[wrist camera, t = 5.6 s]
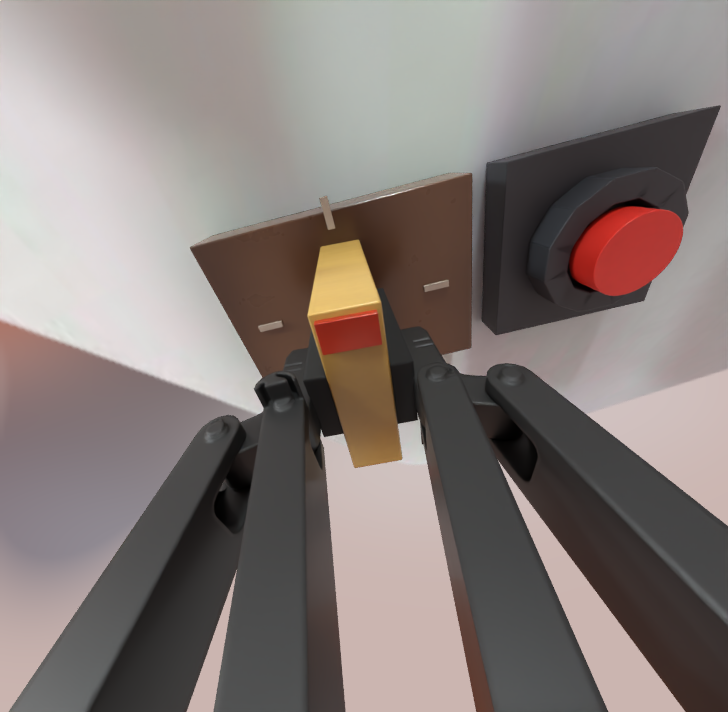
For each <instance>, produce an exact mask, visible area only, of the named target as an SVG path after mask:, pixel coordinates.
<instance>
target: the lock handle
mask: <svg viewBox="0 0 728 712" xmlns="http://www.w3.org/2000/svg"><path fill="white" fill-rule="evenodd" d="M307 317H308V320H309V323H310V326H311V329H312V333H313V336H314V339H315V342H316V346H317V349H318V352H319V355H320V358H321V362H322V365H323V368H324V371H325V375H326V378H327V381H328V384H329V387H330V391H331V394H332V397H333V400H334V404H335V407H336V410H337V413H338V417H339V420H340V423H341V426H342V429H343V433H344V436H345V439H346V442H347V446H348V449H349V452H350V455H351V458H352V462H353V465H354V467H355V468H358V467H364V466H370V465H375V464H380V463H386V462H392V461H398V460H402V452H401V444H400V437H399V429H398V422H397V415H396V407H395V400H394V392H393V385H392V377H391V370H390V362H389V355H388V348H387V340H386V333H385V325H384V318H383V310H382V303H381V300H380V297H379V294H378V291H377V289H376V286H375V283H374V280H373V277H372V275H371V272H370V269H369V266H368V263H367V261H366V258H365V255H364V252H363V249H362V247H361V244H360V241H359V240H353V241H348V242H343V243H337V244H332V245H327V246H322V247H320V253H319V258H318V263H317V268H316V273H315V279H314V284H313V289H312V294H311V299H310V304H309V310H308V315H307Z"/></svg>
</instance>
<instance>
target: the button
mask: <svg viewBox="0 0 728 712" xmlns="http://www.w3.org/2000/svg"><path fill="white" fill-rule="evenodd" d="M682 236H683V225H682V221H681V219H680V218H679V216H678V215H677V214H675V213H674V212H672V211H669V210H662V209H654V208H645V207H636V206H622V207H618V208H615V209H612V210H610V211H608V212H606V213H604V214H602V215H601V216H599V217H598V218H597V219H595V220H594V221H593V222H592V223H591V224H590V225H589V226H588V227H587V228H586V229H585V230H584V231H583V233H582V234H581V236H580V237H579V239H578V240H577V242H576V243H575V245H574V247H573V249H572V252H571V255H570V259H569V269H570V273H571V275H572V277H573V278H574V279H575V280H576V281H577V282H578V283H581V284H583V285H585V286H587V287H590V288H592V289H594V290H596V291H598V292H601V293H603V294H605V295H609V296H619V295H624V294H628V293H631V292H633V291H635V290H638V289H640V288H641V287H643V286H645V285H646V284H648V283H649V282H651V281H652V280H653V279H654V278H656V277H657V276H658V275H659V274H660V273H661V272H662V271H663V270H664V269H665V268H666V266H667V265H668V264H669V263H670V261H671V260H672V259H673V257H674V255H675V254H676V252H677V250H678V248H679V246H680V243H681V240H682Z"/></svg>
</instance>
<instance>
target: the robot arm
mask: <svg viewBox="0 0 728 712" xmlns="http://www.w3.org/2000/svg"><path fill="white" fill-rule="evenodd" d="M377 291H378V294H379V297H380V300H381V303H382V310H383V318H384V325H385V333H386V340H387V348H388V355H389V362H390V370H391V377H392V385H393V392H394V400H395V407H396V415H397V422H398V424H399V423H404V422H410V421H415V420H418V417H417V413H418V416H419V419H420V425H421V440H422V444H424V449H425V454H426V459H427V464H428V469H429V474H430V479H431V484H432V490H433V495H434V500H435V505H436V510H437V515H438V520H439V525H440V530H441V535H442V540H443V545H444V550H445V555H446V560H447V565H448V570H449V576H450V581H451V586H452V591H453V596H454V601H455V606H456V611H457V616H458V621H459V626H460V631H461V636H462V641H463V646H464V651H465V657H466V662H467V667H468V672H469V677H470V682H471V687H472V692H473V697H474V702H475V707H476V712H608V710H607V708H606V706H605V703H604V701H603V699H602V697H601V695H600V692H599V690H598V687H597V685H596V683H595V681H594V678H593V676H592V674H591V671H590V669H589V667H588V665H587V662H586V660H585V658H584V655H583V653H582V651H581V649H580V647H579V644H578V642H577V640H576V637H575V635H574V633H573V630H572V628H571V626H570V624H569V621H568V619H567V617H566V614H565V612H564V610H563V608H562V605H561V603H560V601H559V599H558V596H557V594H556V592H555V590H554V587H553V585H552V583H551V580H550V578H549V576H548V574H547V571H546V569H545V567H544V564H543V562H542V560H541V558H540V556H539V553H538V551H537V549H536V547H535V544H534V542H533V539H532V537H531V535H530V533H529V530H528V528H527V526H526V523H525V521H524V519H523V517H522V514H521V512H520V510H519V508H518V505H517V503H516V501H515V498H514V496H513V494H512V492H511V490H510V487H509V485H508V482H507V480H506V478H505V476H504V474H503V471H502V469H501V467H500V464H499V462H500V463H501V464H502V466H503V467H504V469H505V470H506V471H507V473H508V474H509V475H510V477H511V478H512V479H513V481H514V482H515V483H516V485H517V486H518V487H519V489H520V490H521V491H522V493H523V494H524V495H525V497H526V498H527V500H528V501H529V502H530V504H531V505H532V506H533V507H534V509H535V510H536V512H537V513H538V514H539V516H540V517H541V518H542V520H543V521H544V522H545V524H546V525H547V526H548V528H549V529H550V530H551V532H552V533H553V534H554V536H555V537H556V538H557V540H558V541H559V543H560V544H561V545H562V547H563V548H564V549H565V551H566V552H567V553H568V555H569V556H570V557H571V559H572V560H573V561H574V563H575V564H576V565H577V567H578V568H579V569H580V571H581V572H582V573H583V575H584V576H585V577H586V579H587V580H588V581H589V583H590V584H591V585H592V587H593V588H594V589H595V591H596V592H597V594H598V595H599V596H600V598H601V599H602V600H603V601H604V603H605V604H606V605H607V607H608V608H609V610H610V611H611V612H612V614H613V615H614V616H615V618H616V619H617V620H618V622H619V623H620V624H621V625H622V627H623V628H624V630H625V631H626V632H627V634H628V635H629V636H630V638H631V639H632V640H633V642H634V643H635V644H636V646H637V647H638V648H639V650H640V651H641V653H642V654H643V655H644V656H645V658H646V659H647V661H648V662H649V663H650V665H651V666H652V667H653V669H654V670H655V671H656V673H657V674H658V675H659V677H660V678H661V679H662V681H663V682H664V683H665V685H666V686H667V687H668V689H669V690H670V691H671V693H672V694H673V695H674V697H675V698H676V700H677V701H678V702H679V703H680V705H681V706H682V707H683V709H684V710H685V711H686V712H728V526H727V525H726V524H724V523H723V522H722V521H721V520H719V519H718V518H717V517H715V516H714V515H713V514H712V513H710V512H709V511H708V510H707V509H705V508H704V507H703V506H701V505H700V504H699V503H698V502H697V501H695V500H694V499H693V498H691V497H690V496H689V495H688V494H686V493H685V492H684V491H683V490H681V489H680V488H679V487H677V486H676V485H675V484H674V483H672V482H671V481H670V480H668V479H667V478H666V477H665V476H664V475H662V474H661V473H660V472H658V471H657V470H656V469H655V468H653V467H652V466H651V465H649V464H648V463H647V462H646V461H644V460H643V459H642V458H641V457H639V456H638V455H637V454H636V453H634V452H633V451H631V450H630V449H629V448H628V447H627V446H625V445H624V444H623V443H622V442H620V441H619V440H618V439H617V438H615V437H614V436H613V435H611V434H610V433H609V432H607V431H606V430H605V429H604V428H603V427H601V426H600V425H599V424H598V423H596V422H595V421H594V420H592V419H591V418H590V417H589V416H587V415H586V414H585V413H584V412H582V411H581V410H580V409H578V408H577V407H576V406H575V405H573V404H572V403H571V402H570V401H568V400H567V399H566V398H564V397H563V396H562V395H561V394H559V393H558V392H557V391H556V390H554V389H553V388H552V387H551V386H549V385H548V384H547V383H545V382H544V381H543V380H542V379H540V378H539V377H538V376H537V375H535V374H534V373H533V372H531V371H530V370H528V369H526V368H525V367H523V366H519V365H516V364H506V363H505V364H498V365H495V366H493V367H491V368H490V369H489V370H488V372H487V376H472V375H464V374H460V373H459V371H458V370H457V369H456V368H455V367H454V366H452V365H450V364H447V363H446V362H445V361H444V359H443V357H442V355H441V354H440V352H439V350H438V349H437V347H436V345H435V344H434V342H433V340H432V339H431V337H430V335H429V333H428V331H427V330H425V329H423V328H422V327H420V326H417V327H411V328H406V329H401V330H400V328H399V325H398V323H397V320H396V318H395V316H394V313H393V311H392V308H391V306H390V303H389V301H388V299H387V296H386V294H385V291H384V289H383V288H379V289H377ZM254 390H255V392H256V394H257V396H258V398H259V400H260V402H261V404H262V405H263V407H264V410H263V412H262V413H260V414H258V415H257V416H254V417H252V418H250V419H247V420H245V421H242V422H240V421H239V420H238V418H236V417H235V416H231V415H226V416H221V417H218V418H216V419H214V420H212V421H210V422H209V423H207V424H206V425H205V426H203V427H202V428H201V430H200V431H199V432H198V433H197V435H196V436H195V437H194V439H193V441H192V442H191V443H190V445H189V446H188V448H187V449H186V451H185V452H184V454H183V455H182V457H181V458H180V460H179V461H178V463H177V464H176V466H175V467H174V469H173V470H172V471H171V473H170V474H169V476H168V478H167V479H166V480H165V482H164V483H163V485H162V486H161V488H160V489H159V491H158V492H157V494H156V495H155V497H154V498H153V500H152V501H151V502H150V504H149V505H148V507H147V508H146V510H145V511H144V513H143V514H142V516H141V517H140V519H139V520H138V522H137V523H136V525H135V526H134V528H133V529H132V530H131V532H130V534H129V535H128V537H127V538H126V539H125V541H124V542H123V544H122V545H121V547H120V548H119V550H118V551H117V553H116V554H115V556H114V557H113V559H112V560H111V561H110V563H109V564H108V566H107V568H106V569H105V570H104V572H103V573H102V575H101V576H100V578H99V579H98V581H97V582H96V584H95V585H94V587H93V588H92V590H91V591H90V593H89V594H88V596H87V597H86V598H85V600H84V601H83V603H82V604H81V606H80V607H79V609H78V610H77V612H76V613H75V615H74V616H73V618H72V619H71V620H70V622H69V623H68V625H67V626H66V628H65V629H64V631H63V633H62V634H61V635H60V637H59V638H58V640H57V641H56V643H55V644H54V646H53V647H52V649H51V650H50V652H49V653H48V655H47V656H46V658H45V659H44V660H43V662H42V663H41V665H40V666H39V668H38V669H37V671H36V672H35V674H34V675H33V677H32V678H31V680H30V681H29V682H28V684H27V685H26V687H25V688H24V690H23V692H22V693H21V695H20V696H19V697H18V699H17V700H16V702H15V703H14V705H13V706H12V708H11V709H10V711H9V712H186V711H187V709H188V706H189V703H190V700H191V697H192V694H193V692H194V688H195V686H196V683H197V680H198V677H199V675H200V671H201V669H202V666H203V663H204V660H205V657H206V655H207V652H208V649H209V646H210V643H211V641H212V638H213V635H214V632H215V629H216V626H217V624H218V621H219V618H220V615H221V612H222V609H223V606H224V603H225V601H226V598H227V595H228V592H229V590H230V587H231V584H232V581H233V578H234V575H235V573H236V570H237V573H236V579H235V586H234V592H233V597H232V604H231V609H230V616H229V622H228V628H227V634H226V640H225V646H224V652H223V659H222V665H221V670H220V676H219V682H218V688H217V694H216V700H215V706H214V712H345V701H344V689H343V677H342V665H341V652H340V639H339V628H338V616H337V603H336V592H335V579H334V566H333V554H332V542H331V530H330V518H329V506H328V493H327V482H326V470H325V457H324V447H323V444H322V442H321V439H320V434H321V430H322V433H323V435H324V437H327V436H332V435H338V434H343V429H342V426H341V423H340V420H339V417H338V413H337V410H336V407H335V404H334V400H333V397H332V394H331V391H330V387H329V384H328V381H327V378H326V375H325V371H324V368H323V365H322V362H321V358H320V355H319V352H318V349H317V346H316V342H315V339H314V336H313V333H312V329H311V333H310V339H309V346H308V348H303V349H298V350H293V351H292V352H291V353H290V354H289V355H288V356H287V358H286V361H285V364H284V368H283V371H277V372H274V373H271V374H269V375H267V376H265V377H264V378H262V379H261V380H260V381H259V382H258V383H257V384H256V386H255V388H254ZM497 459H498V460H497ZM498 461H499V462H498ZM222 484H223V485H222Z"/></svg>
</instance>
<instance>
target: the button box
mask: <svg viewBox="0 0 728 712" xmlns="http://www.w3.org/2000/svg"><path fill="white" fill-rule="evenodd" d="M720 107H721V106H713V107H708V108H702V109H696V110H690V111H685V112H679V113H673V114H670V115H666V116H662V117H658V118H654V119H651V120H647V121H643V122H639V123H636V124H632V125H628V126H624V127H620V128H617V129H613V130H609V131H605V132H602V133H598V134H594V135H590V136H586V137H583V138H579V139H575V140H571V141H568V142H564V143H560V144H556V145H552V146H549V147H545V148H541V149H537V150H534V151H530V152H526V153H522V154H518V155H515V156H511V157H507V158H503V159H500V160H496V161H492V162H488V163H487V173H486V206H485V239H484V272H483V304H482V322H483V323H484V324H485V325H486V326H487V327H488V328H489V329H490V330H491V331H492V332H493V333H494V334H495V335H499V334H504V333H508V332H512V331H516V330H521V329H525V328H529V327H534V326H538V325H542V324H547V323H551V322H555V321H559V320H564V319H568V318H572V317H577V316H581V315H585V314H589V313H594V312H598V311H602V310H607V309H611V308H615V307H620V306H624V305H628V304H632V303H637V302H641V301H644V300H645V297H646V295H647V292H648V289H649V287H650V284H651V282H652V281H651V282H649V283H648V284H646V285H645V286H643V287H641V288H640V289H638V290H635V291H633V292H631V293H628V294H624V295H619V296H609V295H605V294H603V293H601V292H598V291H596V290H594V289H592V288H590V287H587V286H585V285H583V284H581V283H578V282H577V281H576V280H575V279H574V278H573V277H572V275H571V273H570V269H569V259H570V255H571V252H572V249H573V247H574V245H575V243H576V242H577V240H578V239H579V237H580V236H581V234H582V233H583V231H584V230H585V229H586V228H587V227H588V226H589V225H590V224H591V223H592V222H593V221H594V220H595V219H597V218H598V217H599V216H601V215H602V214H604V213H606V212H608V211H610V210H612V209H615V208H618V207H622V206H636V207H645V208H654V209H662V210H669V211H672V212H674V213H675V214H677V215H678V216H679V218H680V219H681V221H682V225H683V226H684V224H685V221H686V219H687V216H688V207H687V200H686V193H687V191H688V188H689V186H690V183H691V180H692V178H693V175H694V173H695V170H696V168H697V165H698V163H699V160H700V158H701V155H702V153H703V150H704V148H705V145H706V142H707V140H708V137H709V135H710V132H711V130H712V127H713V125H714V122H715V120H716V117H717V115H718V112H719V110H720Z"/></svg>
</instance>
